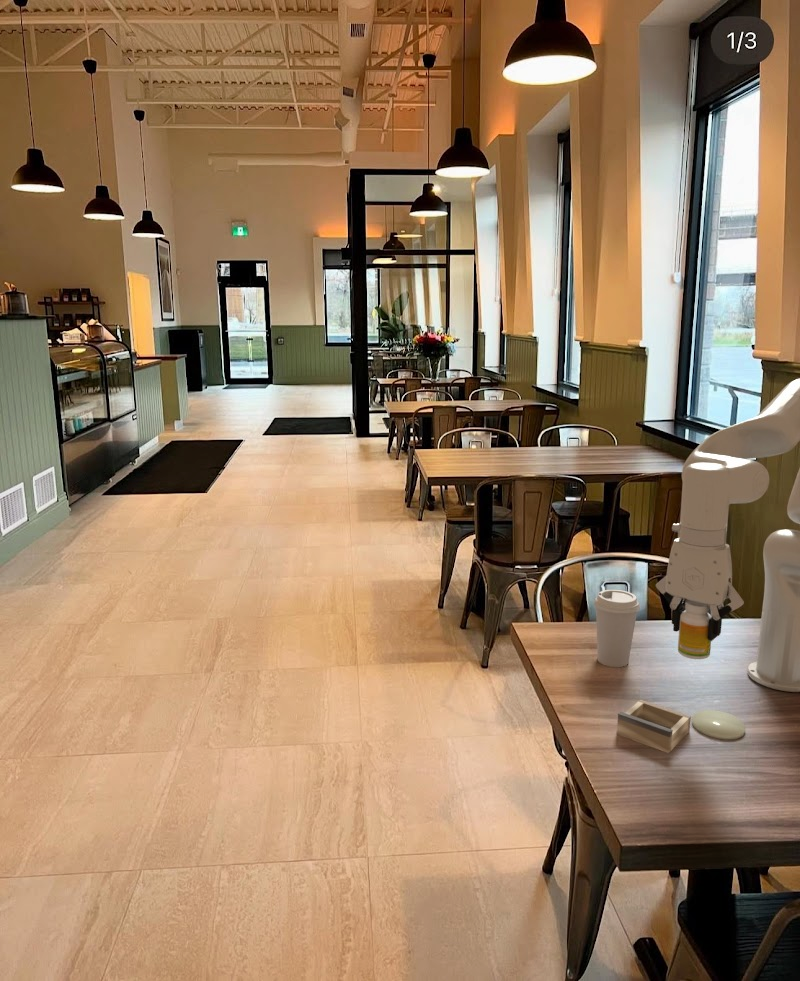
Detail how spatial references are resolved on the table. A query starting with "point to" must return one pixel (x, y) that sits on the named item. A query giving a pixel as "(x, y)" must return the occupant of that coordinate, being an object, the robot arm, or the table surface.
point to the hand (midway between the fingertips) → (695, 632)
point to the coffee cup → (615, 626)
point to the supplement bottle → (694, 631)
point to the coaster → (718, 724)
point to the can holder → (653, 725)
